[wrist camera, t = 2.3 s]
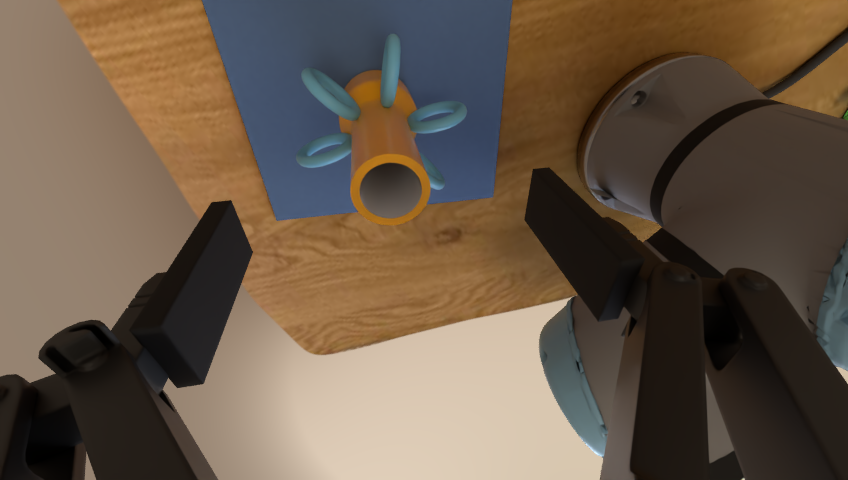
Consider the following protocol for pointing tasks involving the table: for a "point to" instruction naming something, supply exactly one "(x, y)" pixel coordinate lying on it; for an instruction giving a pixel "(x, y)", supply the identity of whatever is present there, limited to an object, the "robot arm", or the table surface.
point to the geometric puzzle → (845, 116)
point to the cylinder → (380, 139)
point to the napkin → (341, 61)
